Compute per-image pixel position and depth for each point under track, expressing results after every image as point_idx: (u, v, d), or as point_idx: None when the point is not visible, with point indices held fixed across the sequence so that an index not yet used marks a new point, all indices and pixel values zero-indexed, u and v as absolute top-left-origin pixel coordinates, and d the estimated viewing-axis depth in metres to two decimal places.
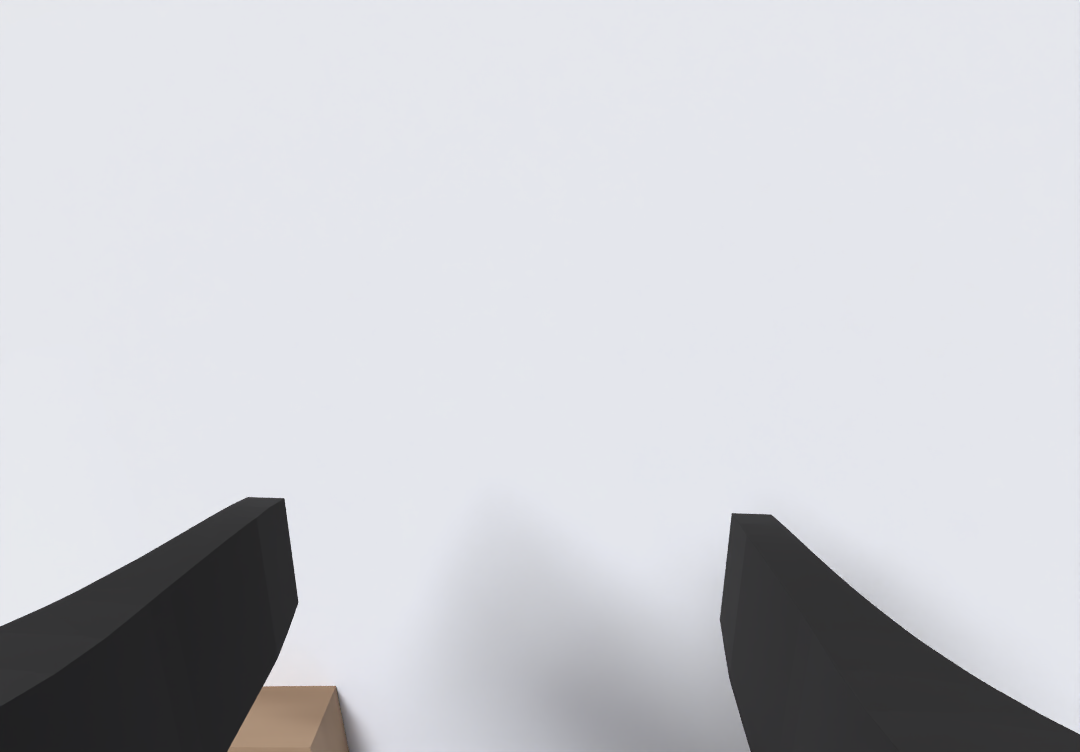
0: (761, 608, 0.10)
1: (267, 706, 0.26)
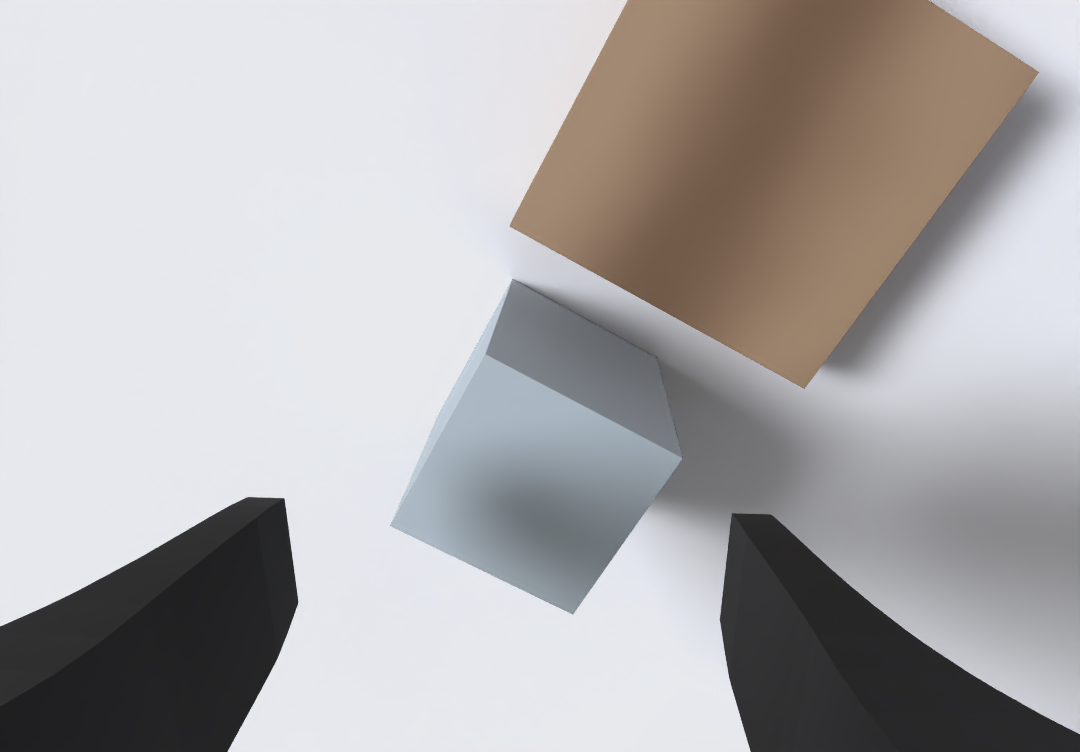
0: (760, 607, 0.10)
1: None
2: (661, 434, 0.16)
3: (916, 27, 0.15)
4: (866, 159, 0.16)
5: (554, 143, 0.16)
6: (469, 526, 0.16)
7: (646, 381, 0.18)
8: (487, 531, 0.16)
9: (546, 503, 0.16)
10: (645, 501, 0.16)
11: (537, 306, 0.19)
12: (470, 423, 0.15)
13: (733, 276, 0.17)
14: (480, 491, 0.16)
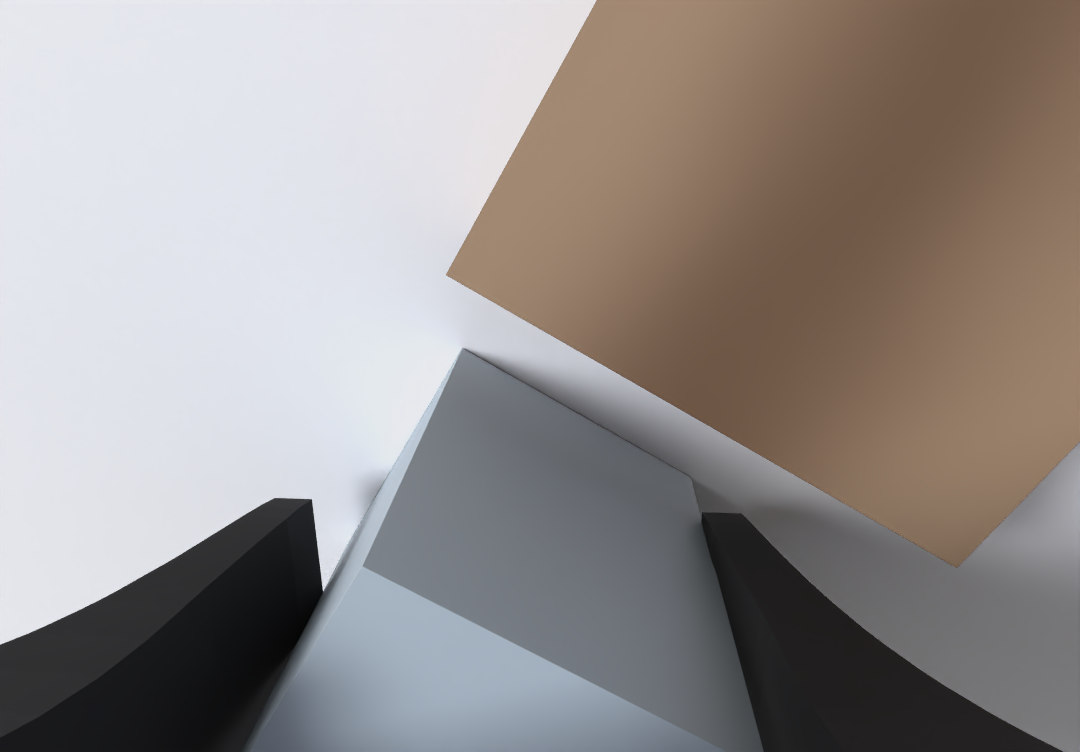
0: (727, 606, 0.10)
1: None
2: (722, 704, 0.08)
3: None
4: None
5: (531, 124, 0.09)
6: None
7: (681, 545, 0.11)
8: None
9: None
10: None
11: (498, 402, 0.11)
12: (335, 691, 0.07)
13: (852, 376, 0.10)
14: None
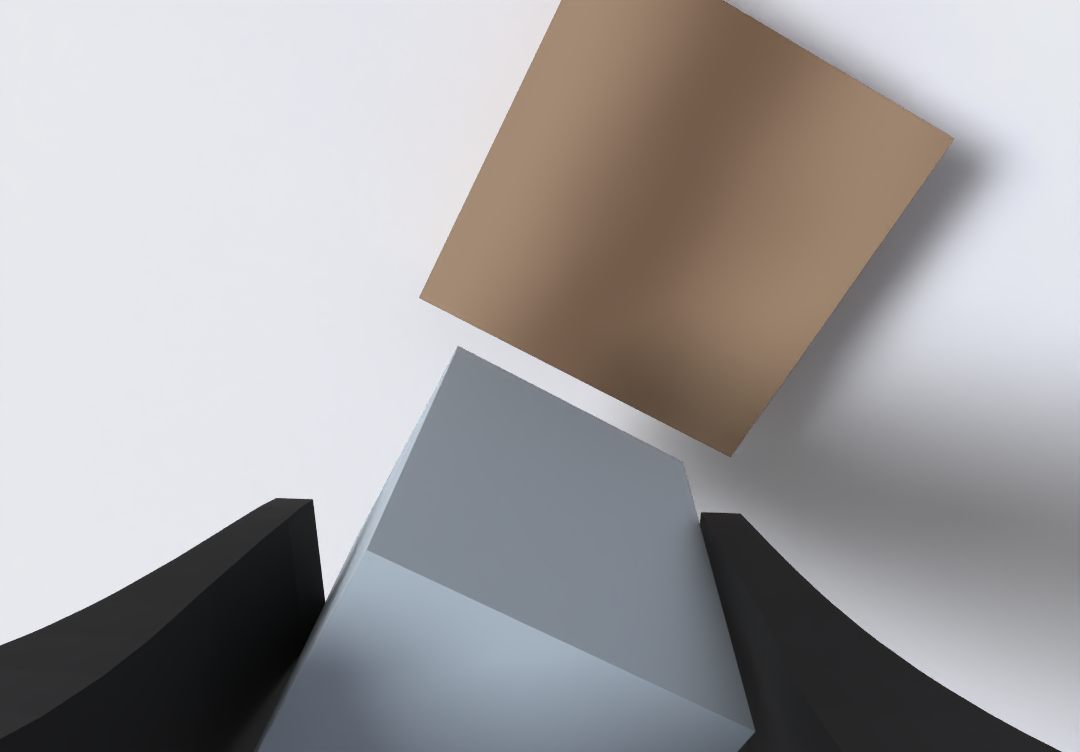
0: (725, 606, 0.10)
1: None
2: (710, 669, 0.09)
3: (825, 95, 0.15)
4: (781, 227, 0.16)
5: (460, 215, 0.16)
6: None
7: (672, 525, 0.11)
8: None
9: None
10: None
11: (494, 396, 0.12)
12: (346, 668, 0.08)
13: (651, 345, 0.17)
14: None
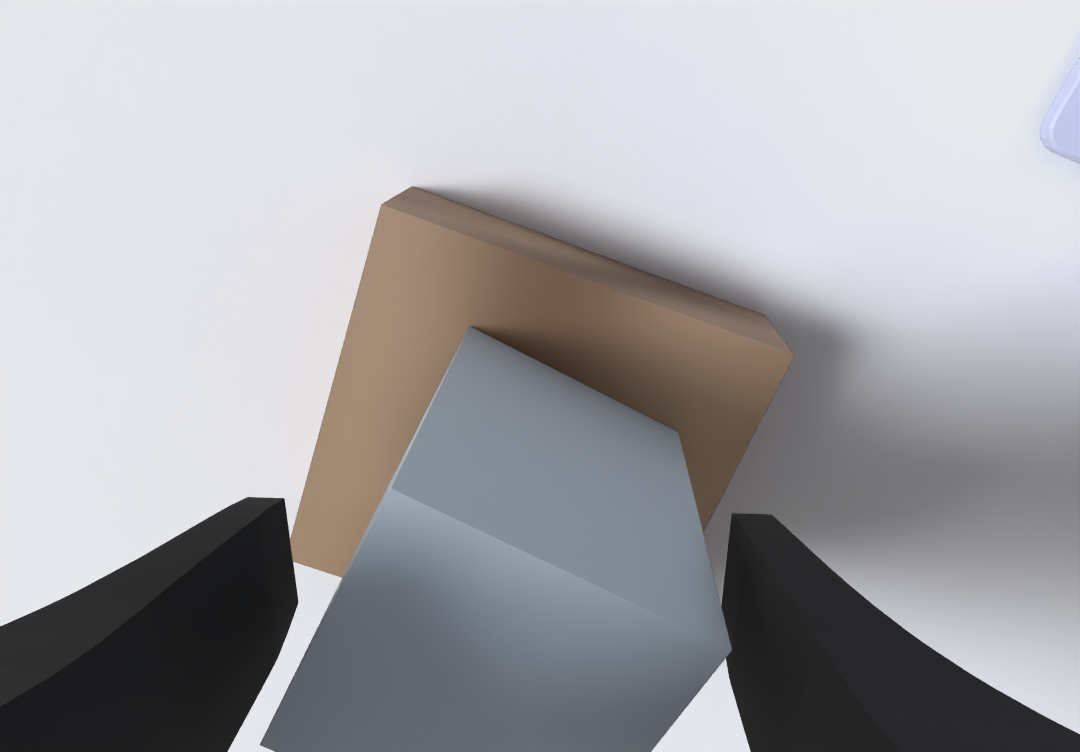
0: (761, 608, 0.10)
1: None
2: (694, 599, 0.10)
3: (650, 330, 0.14)
4: None
5: (307, 480, 0.16)
6: (385, 747, 0.10)
7: (665, 484, 0.12)
8: None
9: (507, 714, 0.10)
10: (669, 713, 0.10)
11: (502, 370, 0.13)
12: (373, 596, 0.09)
13: None
14: (399, 697, 0.10)
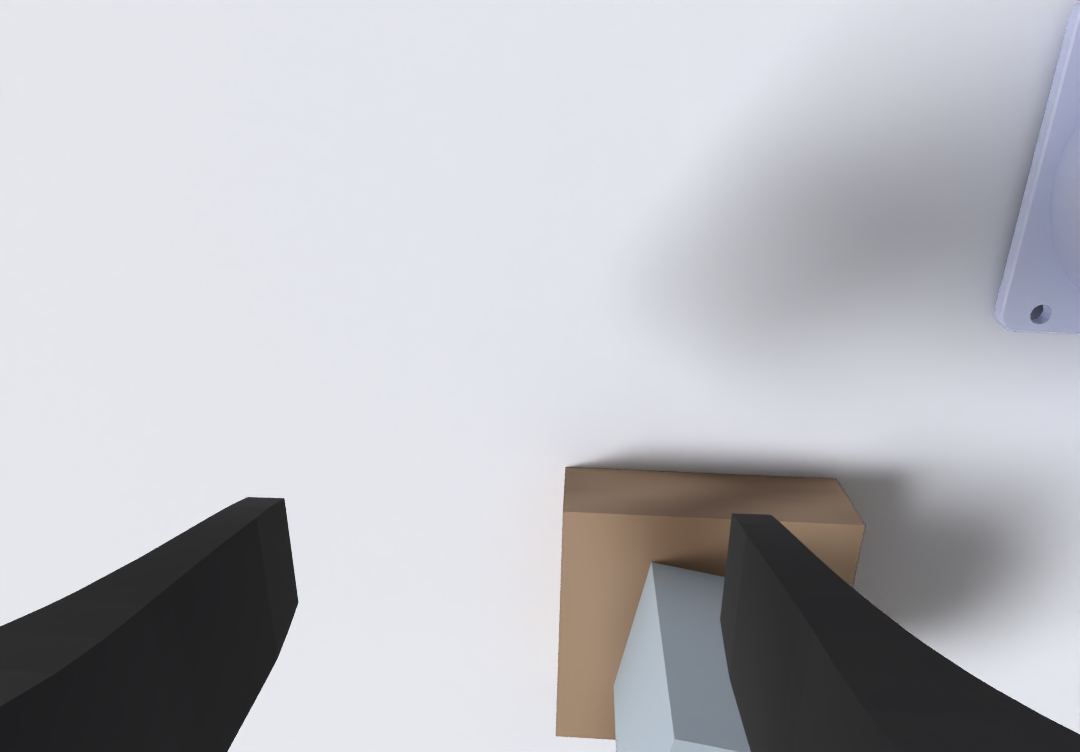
0: (761, 607, 0.10)
1: None
2: None
3: None
4: None
5: (558, 683, 0.23)
6: None
7: None
8: None
9: None
10: None
11: (686, 596, 0.20)
12: None
13: None
14: None
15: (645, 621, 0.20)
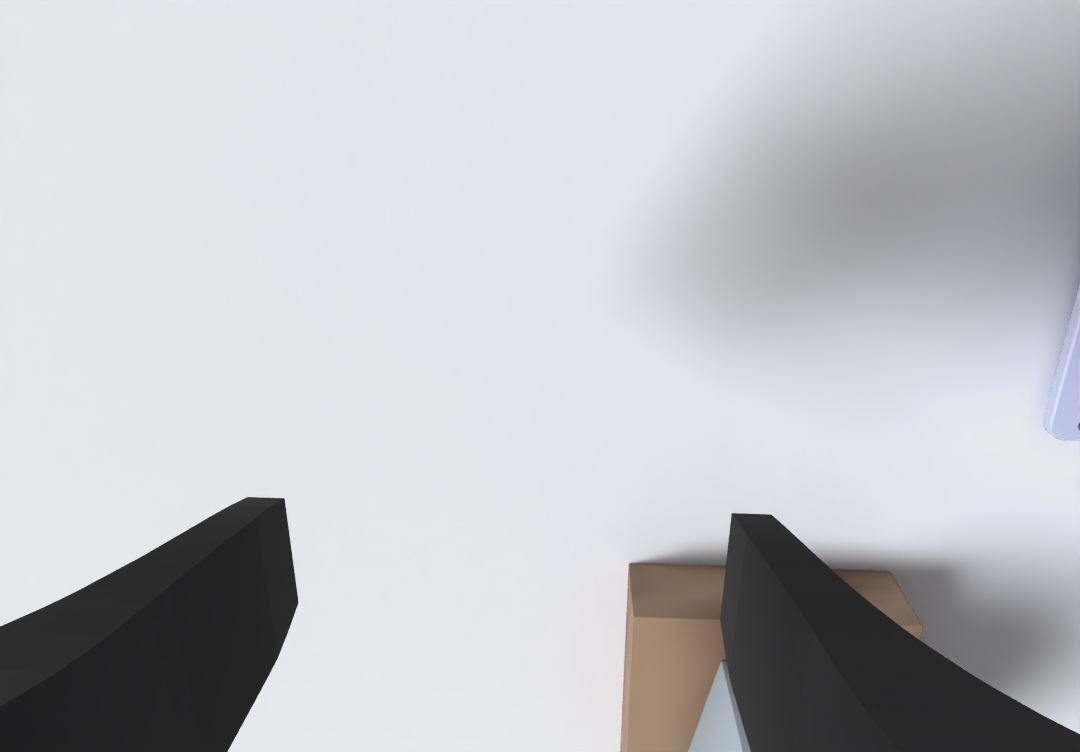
0: (761, 608, 0.10)
1: (627, 635, 0.24)
2: None
3: None
4: None
5: None
6: None
7: None
8: None
9: None
10: None
11: None
12: None
13: None
14: None
15: (718, 721, 0.21)
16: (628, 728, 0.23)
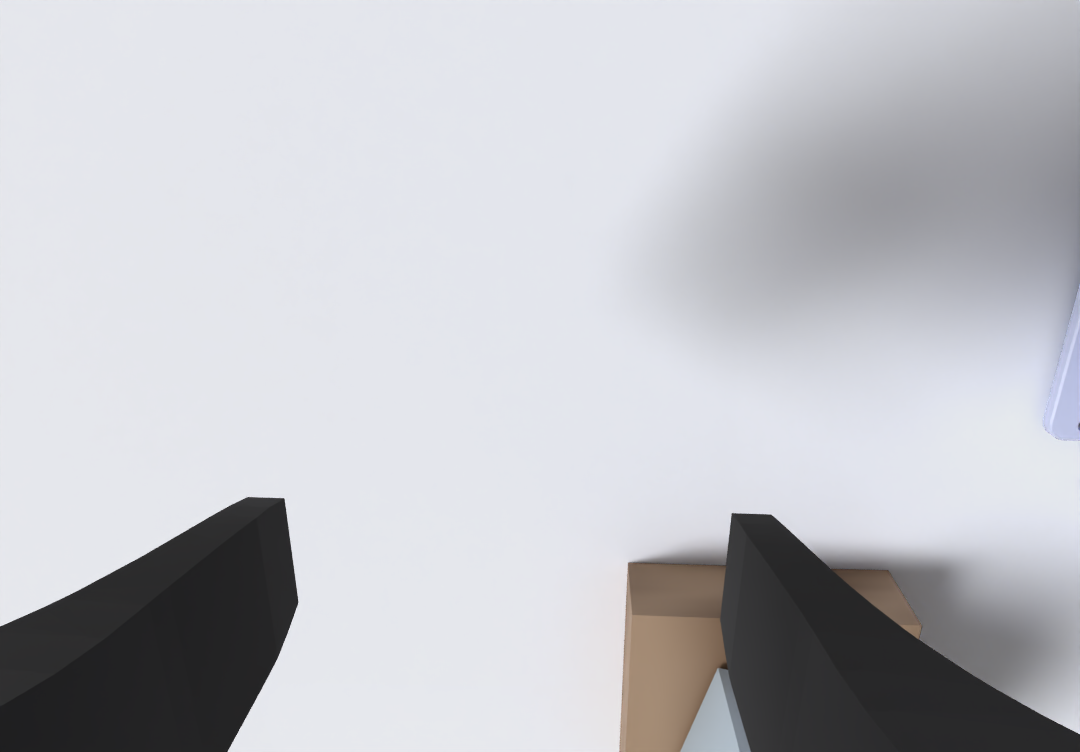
0: (761, 608, 0.10)
1: (626, 633, 0.24)
2: None
3: None
4: None
5: None
6: None
7: None
8: None
9: None
10: None
11: None
12: None
13: None
14: None
15: (714, 728, 0.21)
16: (627, 726, 0.23)
